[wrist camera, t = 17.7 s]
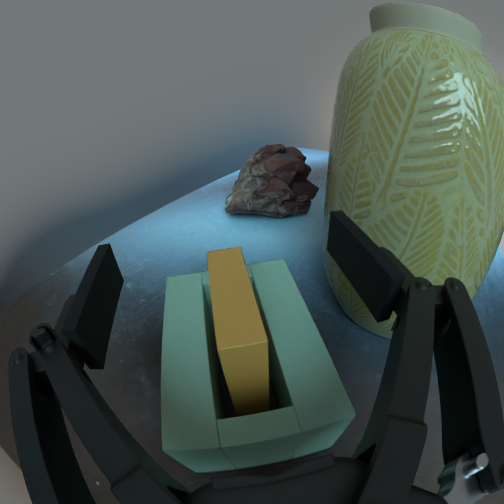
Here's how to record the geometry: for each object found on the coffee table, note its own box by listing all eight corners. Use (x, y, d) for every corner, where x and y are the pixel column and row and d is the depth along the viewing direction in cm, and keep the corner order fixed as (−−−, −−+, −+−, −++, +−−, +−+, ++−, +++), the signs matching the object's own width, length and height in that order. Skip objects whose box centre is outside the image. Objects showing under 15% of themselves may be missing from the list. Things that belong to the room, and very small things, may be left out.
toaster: (329, 449, 14) (356, 414, 10) (197, 474, 13) (161, 451, 9) (279, 312, 25) (280, 251, 22) (186, 327, 24) (167, 268, 20)
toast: (269, 424, 16) (268, 341, 10) (240, 429, 15) (217, 350, 10) (251, 348, 21) (240, 246, 16) (227, 352, 21) (206, 251, 16)
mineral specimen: (252, 223, 51) (331, 208, 44) (213, 233, 40) (312, 214, 32) (239, 164, 49) (315, 142, 42) (197, 158, 38) (292, 124, 31)
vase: (452, 266, 29) (487, 61, 14) (462, 373, 16) (561, 42, 1) (337, 238, 36) (343, 33, 21) (291, 329, 24) (287, -23, 9)
